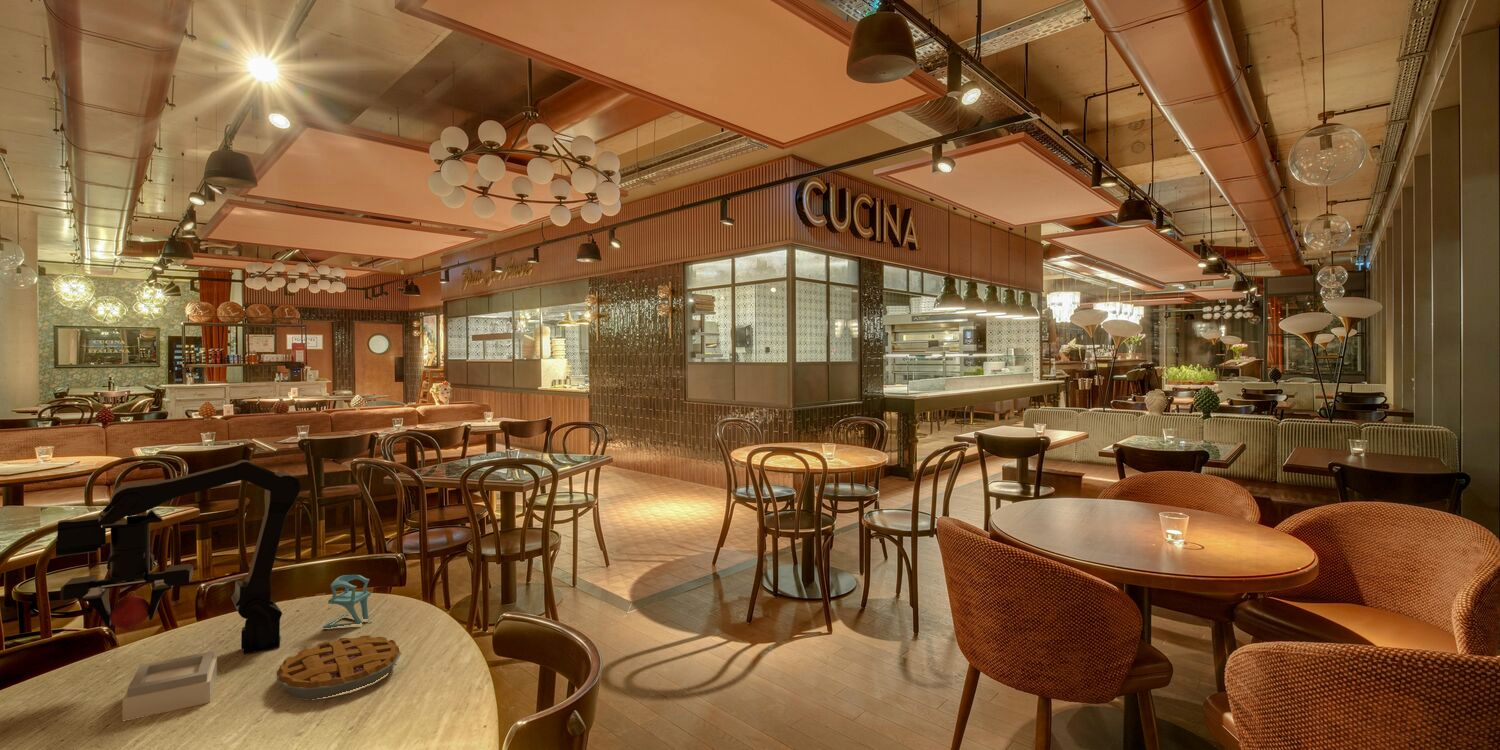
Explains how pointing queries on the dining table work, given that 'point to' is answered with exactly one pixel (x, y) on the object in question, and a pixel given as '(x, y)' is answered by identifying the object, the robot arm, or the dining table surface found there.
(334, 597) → the chair
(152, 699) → the display pedestal
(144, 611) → the onion
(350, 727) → the dining table surface
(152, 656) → the dining table surface
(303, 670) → the pie
